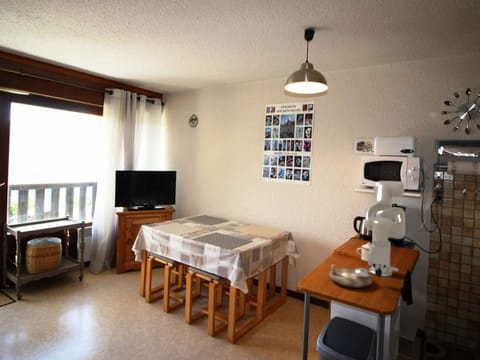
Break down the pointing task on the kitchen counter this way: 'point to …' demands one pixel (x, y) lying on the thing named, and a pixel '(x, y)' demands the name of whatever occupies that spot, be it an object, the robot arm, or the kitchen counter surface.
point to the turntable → (348, 277)
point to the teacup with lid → (364, 252)
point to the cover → (361, 273)
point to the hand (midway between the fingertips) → (378, 276)
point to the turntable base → (350, 286)
